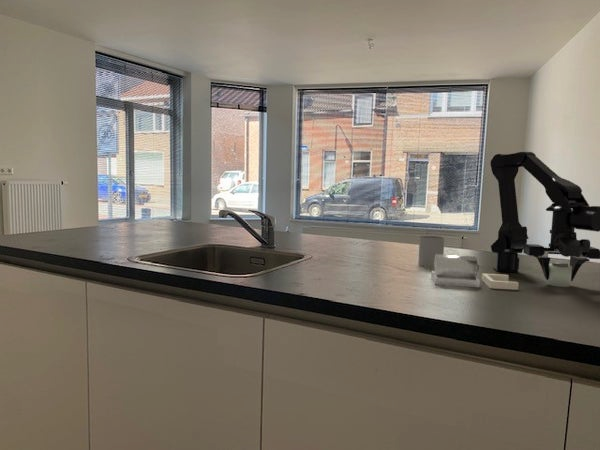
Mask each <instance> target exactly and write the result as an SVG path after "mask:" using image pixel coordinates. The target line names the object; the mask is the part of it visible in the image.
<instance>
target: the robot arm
mask: <svg viewBox="0 0 600 450" xmlns="http://www.w3.org/2000/svg"><path fill="white" fill-rule="evenodd" d="M489 165H490V168H491V173H492V175H493V176H494V178H495V180H497V184H498V185H497V186H498V192H499V193H498V194H499V203H500V212H501V221H502V223H501V225H500V227H499V230H498V233H497V239H496V240H495V241H494V242H493V243H492V244H491V245H490V249H491V252H492V253H494V254H495V256H494V257H495V258H494V266H492V267H493V268H492V269H494V271H495V270H496V272H499V273H500V272H502V273H516V274H517V273H519V271H518V270H519V269H520V257H519V254H522V253H523V254H525V255H527V256H530V257H535V258H536V260H537V261H538V263H539V265H540V267H541V270H542V273H543V276H544V278H545V280H546V281H547V280H548V279H549V264H550V261H551V257H549V255H561V256H563V257H566V258H568V257H569V266H572V275H571V282H573V281H574V279H575V277H576V275H577V273H578V271H579V269H580V268H581V266H583V264H585V263H586V262H590V259H591V260H600V249H599V248H596V247H593V246H591V241H590V239H585V238H581V239H578V237H577V232H576V231H575V229H576V230H580V231H589V232H600V205H599V206H598V205H596V206H595V205H593V206H592V205H589V202H588V201H587V200H586V198H585V196H584V195H583V193H582V192H583V190H582V188H581V187H580V186H579V185H578V184H576V183H574V182H572V181H570V180H568V179H565V178H563V177H561V176H560V175H558V174H557V173H556V172H554V171H553V170H552V169H551V168H550V167H549V166H547V165H546V164H545V162H544V161H542V160H541V159H540V158H539V157H537V156H536V153H535V152H533V151H519V152H513V153H508V154H505V153H497V154H495V155H494V156H492V159H491V160H490V163H489ZM521 167H523V168H524V169H525V170H526V172H528V173H529V174H530V175H532V176H533V178H535V180H536V181H537V182H538V183H540V184H541V185H542V186H543V188H544V189H545V194H546V195H547V197H548V198H549V200H550V201H551V202H552V204H551V205H549V206H548V207H546V209H545V211H546V212H552V217H551V229H549V233H550V243H548V247H545V246H543V245H540V244H534V243H533V244H531V243H528V240H529V236H528V228H527V226H522V224H521V223H520V219H519V211H518V199H517V191H516V182H515V181H516V180H515V179H516V178H517V177H516V176H517V175H518V173H519V168H521Z"/></svg>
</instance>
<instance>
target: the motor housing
mask: <svg viewBox="0 0 600 450" xmlns="http://www.w3.org/2000/svg"><path fill="white" fill-rule="evenodd" d="M479 271H480V266H479V264H478V259H477V256H475V255H459V254H458V255H456V254H444V255H439V254H436V255H435V260H434V267H433V270H431V280H432V282H433V283H434V285H436V286H451V287H466V288H480V283H481V282H480V281H481V280H480V278H478V277H477V275H478V273H479Z"/></svg>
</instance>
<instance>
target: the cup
mask: <svg viewBox="0 0 600 450" xmlns="http://www.w3.org/2000/svg"><path fill="white" fill-rule="evenodd" d="M418 244H419V245H418V265H419V266H423V267H426V268H427V267H428V268H434V260H435V255H436V254H439V255H445V253H444V252H445V237H444V236H438V235H420V236H419V242H418Z"/></svg>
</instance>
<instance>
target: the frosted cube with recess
mask: <svg viewBox="0 0 600 450" xmlns="http://www.w3.org/2000/svg"><path fill="white" fill-rule="evenodd" d="M568 263H569V262H561V261H552V262H551V263H549V279H548V280H546V284H547V285H549V286H553V287H559V288H570V287H571V284H572V281H571V275H572V266H570V264H568Z"/></svg>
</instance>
